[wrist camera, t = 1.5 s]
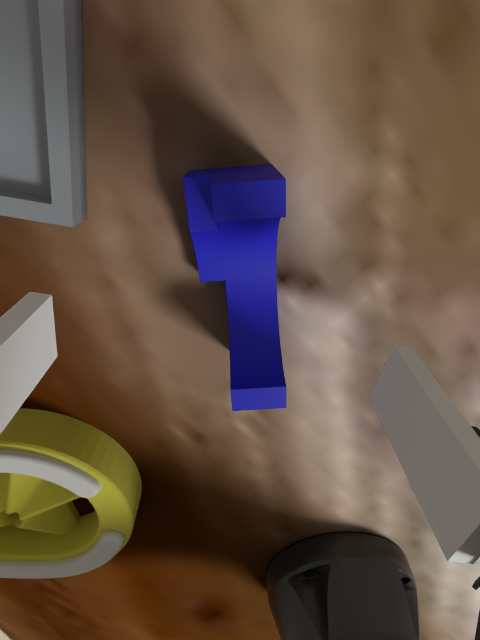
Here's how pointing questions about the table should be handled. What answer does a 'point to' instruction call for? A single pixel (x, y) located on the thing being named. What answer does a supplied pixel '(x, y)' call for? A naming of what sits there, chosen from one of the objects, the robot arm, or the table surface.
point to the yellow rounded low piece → (62, 496)
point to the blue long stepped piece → (243, 270)
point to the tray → (42, 111)
